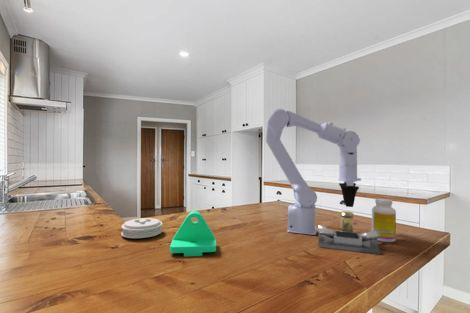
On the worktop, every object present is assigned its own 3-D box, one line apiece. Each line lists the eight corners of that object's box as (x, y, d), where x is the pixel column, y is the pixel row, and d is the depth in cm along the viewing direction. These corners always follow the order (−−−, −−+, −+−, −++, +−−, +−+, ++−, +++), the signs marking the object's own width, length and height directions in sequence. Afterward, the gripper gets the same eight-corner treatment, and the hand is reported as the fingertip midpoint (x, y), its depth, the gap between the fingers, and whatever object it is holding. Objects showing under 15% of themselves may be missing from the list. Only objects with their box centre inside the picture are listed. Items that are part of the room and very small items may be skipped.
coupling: (340, 233, 87) (340, 213, 87) (339, 230, 91) (340, 210, 91) (354, 234, 86) (354, 214, 86) (352, 231, 90) (352, 211, 90)
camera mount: (169, 257, 65) (170, 217, 65) (173, 247, 73) (173, 211, 73) (216, 255, 66) (216, 216, 67) (215, 245, 74) (215, 210, 74)
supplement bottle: (399, 243, 77) (399, 201, 77) (375, 242, 79) (376, 200, 79) (390, 237, 84) (390, 198, 84) (368, 235, 85) (369, 197, 85)
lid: (123, 231, 88) (123, 216, 88) (161, 228, 92) (161, 214, 92) (118, 243, 76) (119, 226, 76) (162, 239, 79) (163, 223, 80)
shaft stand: (315, 246, 74) (315, 228, 74) (316, 236, 83) (316, 220, 83) (383, 254, 68) (383, 234, 68) (376, 243, 77) (376, 225, 77)
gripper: (363, 166, 80) (364, 209, 80) (358, 165, 94) (358, 201, 94) (339, 166, 83) (340, 208, 83) (337, 165, 96) (338, 200, 96)
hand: (348, 204), depth 88 cm, fingers open, 7 cm apart
